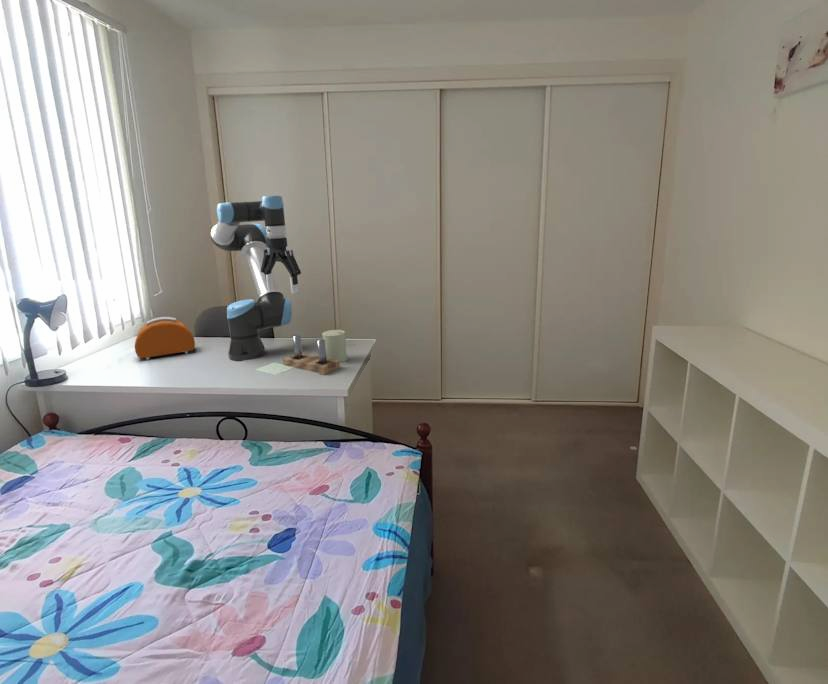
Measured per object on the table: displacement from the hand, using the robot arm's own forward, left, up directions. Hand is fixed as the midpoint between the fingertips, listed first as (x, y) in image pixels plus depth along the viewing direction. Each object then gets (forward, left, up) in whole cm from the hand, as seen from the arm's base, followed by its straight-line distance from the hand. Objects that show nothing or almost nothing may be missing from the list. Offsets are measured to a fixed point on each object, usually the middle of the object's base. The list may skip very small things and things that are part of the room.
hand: (282, 291), depth 206 cm
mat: (+3, -11, -29) cm, 31 cm away
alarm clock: (-56, -20, -29) cm, 66 cm away
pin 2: (+21, -2, -29) cm, 35 cm away
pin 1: (+8, -2, -29) cm, 30 cm away
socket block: (+14, -2, -29) cm, 32 cm away
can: (+17, +9, -29) cm, 35 cm away
